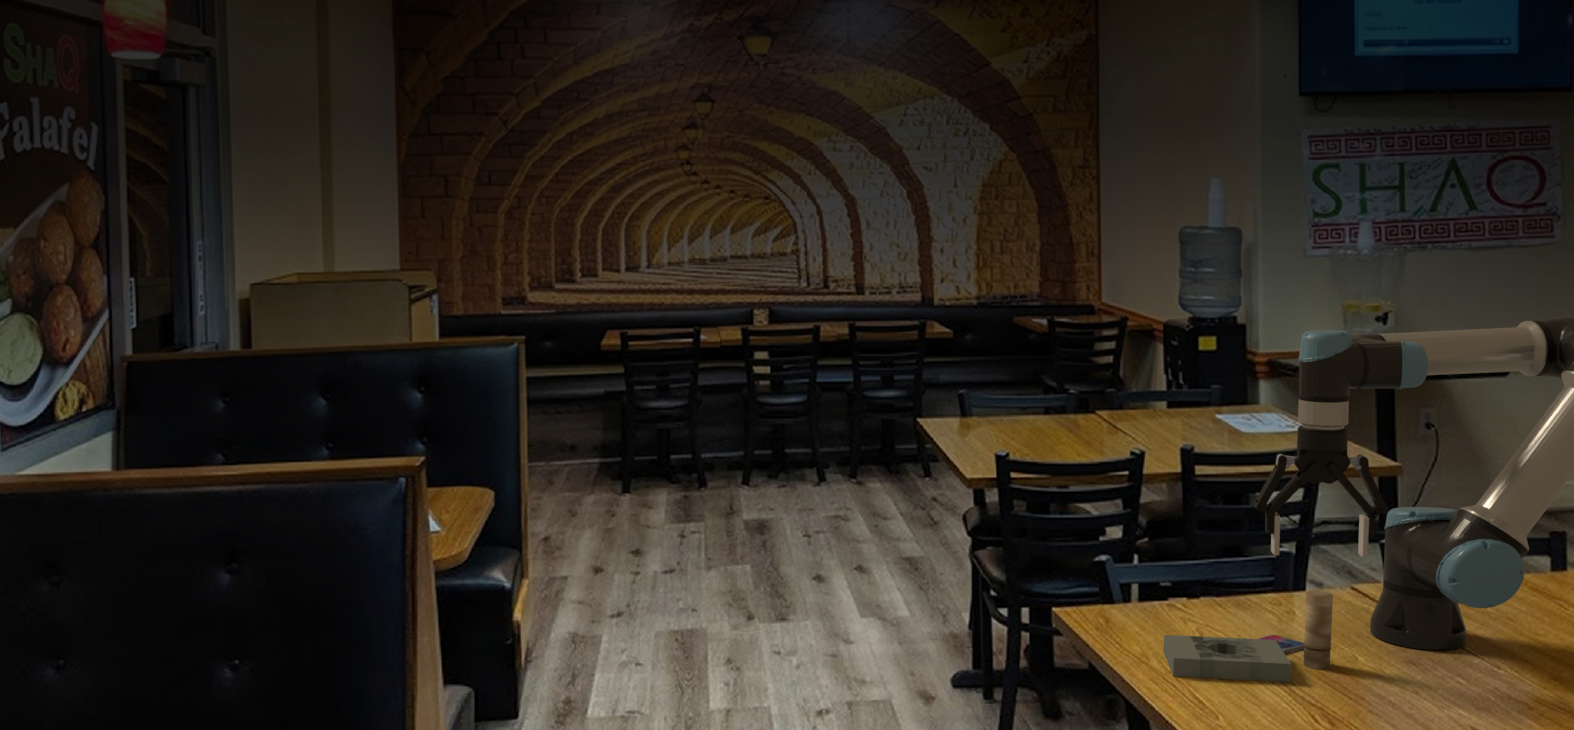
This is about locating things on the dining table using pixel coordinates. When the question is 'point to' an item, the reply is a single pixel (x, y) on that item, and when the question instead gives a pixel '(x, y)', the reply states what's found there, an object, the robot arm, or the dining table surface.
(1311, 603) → the peg
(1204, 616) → the dining table surface
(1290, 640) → the smartphone
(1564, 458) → the robot arm
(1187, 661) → the board
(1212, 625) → the dining table surface
